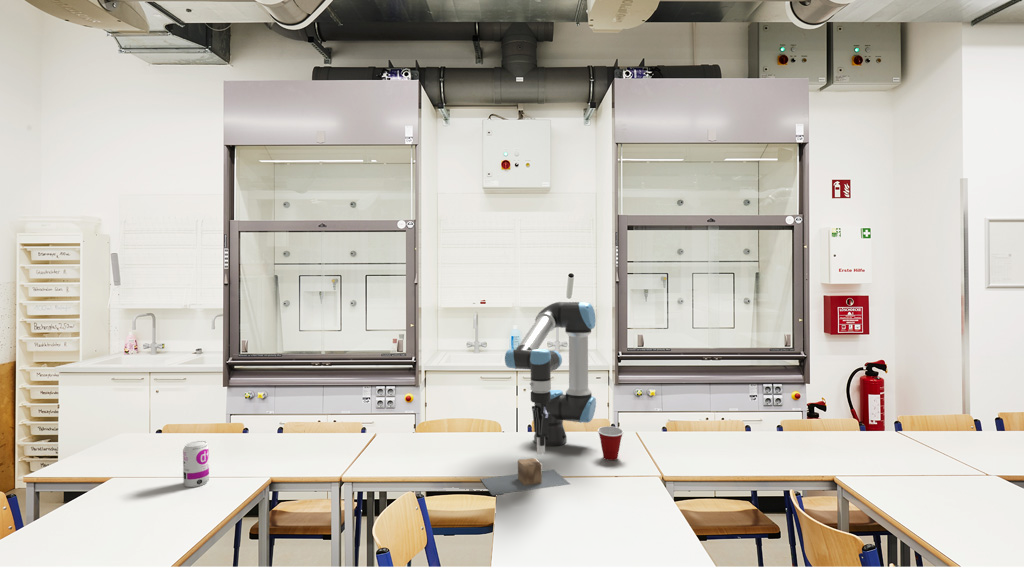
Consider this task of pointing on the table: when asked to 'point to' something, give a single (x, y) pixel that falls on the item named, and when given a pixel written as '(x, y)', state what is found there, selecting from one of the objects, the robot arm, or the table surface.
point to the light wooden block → (529, 471)
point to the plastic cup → (610, 441)
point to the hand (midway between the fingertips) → (540, 453)
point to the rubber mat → (514, 484)
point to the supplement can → (196, 464)
